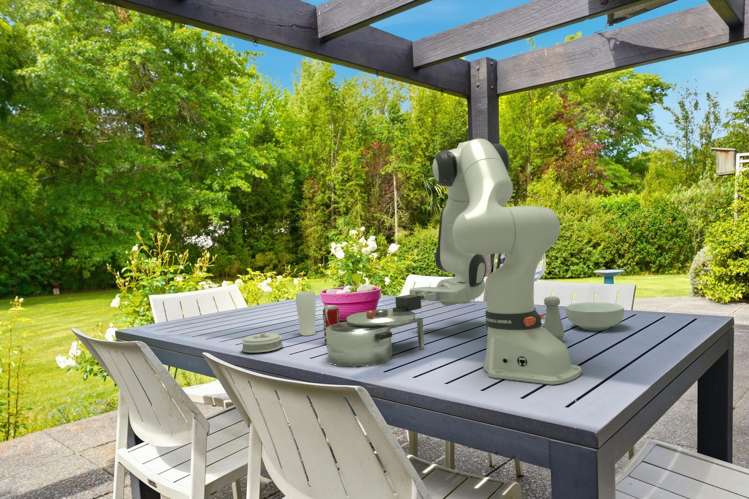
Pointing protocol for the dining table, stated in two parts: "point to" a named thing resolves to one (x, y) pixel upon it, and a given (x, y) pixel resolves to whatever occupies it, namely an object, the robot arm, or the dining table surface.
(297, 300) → the drinking glass
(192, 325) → the dining table surface
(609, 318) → the cereal bowl
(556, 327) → the salt shaker
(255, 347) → the lid
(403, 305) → the cooker lid
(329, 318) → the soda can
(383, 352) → the cooker pot
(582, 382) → the dining table surface
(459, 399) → the dining table surface
